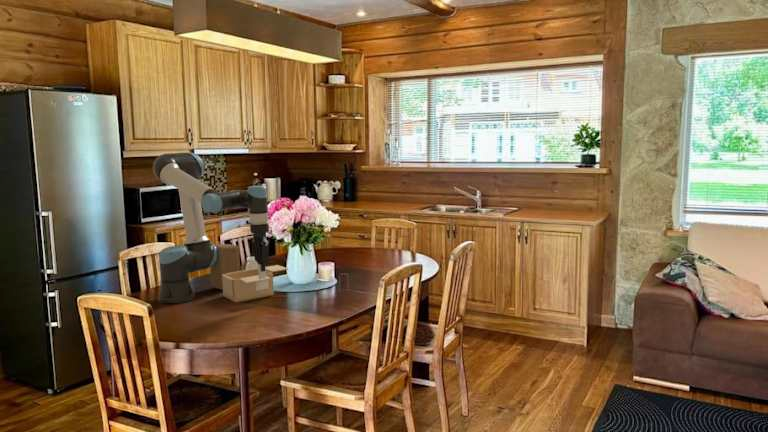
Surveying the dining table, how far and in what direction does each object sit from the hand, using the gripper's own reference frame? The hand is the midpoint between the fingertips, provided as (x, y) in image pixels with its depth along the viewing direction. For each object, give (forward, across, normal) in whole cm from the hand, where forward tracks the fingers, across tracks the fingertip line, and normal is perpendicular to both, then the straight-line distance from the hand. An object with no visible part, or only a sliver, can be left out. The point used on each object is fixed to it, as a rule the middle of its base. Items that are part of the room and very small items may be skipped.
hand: (262, 278), depth 245 cm
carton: (+12, +18, -2) cm, 22 cm away
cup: (+12, +47, -18) cm, 52 cm away
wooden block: (+11, +38, +2) cm, 40 cm away
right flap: (+1, +18, -15) cm, 24 cm away
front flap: (+1, +7, 0) cm, 7 cm away
